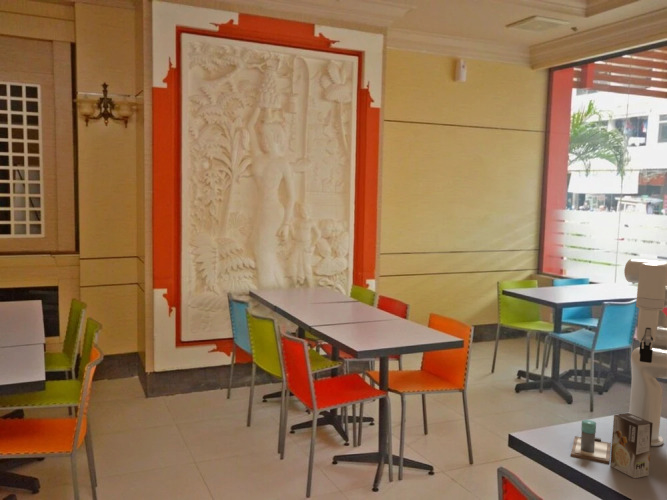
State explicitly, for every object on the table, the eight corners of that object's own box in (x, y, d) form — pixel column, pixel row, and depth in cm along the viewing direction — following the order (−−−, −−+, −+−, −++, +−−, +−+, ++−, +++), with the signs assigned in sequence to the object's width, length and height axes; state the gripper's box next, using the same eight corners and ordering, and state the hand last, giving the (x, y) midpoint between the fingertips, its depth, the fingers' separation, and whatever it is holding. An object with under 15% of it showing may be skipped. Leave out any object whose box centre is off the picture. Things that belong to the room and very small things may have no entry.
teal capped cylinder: (580, 446, 197) (581, 419, 196) (594, 448, 196) (596, 421, 195) (580, 451, 193) (581, 423, 192) (594, 453, 192) (596, 425, 191)
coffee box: (649, 475, 180) (654, 422, 179) (634, 479, 178) (638, 425, 176) (623, 462, 189) (628, 412, 187) (608, 465, 186) (612, 414, 185)
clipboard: (575, 438, 206) (575, 433, 206) (610, 445, 202) (611, 440, 201) (570, 455, 192) (571, 450, 192) (609, 463, 187) (609, 458, 187)
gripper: (636, 298, 196) (631, 350, 198) (636, 306, 180) (631, 363, 182) (662, 300, 193) (657, 354, 194) (665, 309, 177) (660, 367, 179)
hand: (645, 358), depth 188 cm, fingers open, 9 cm apart
